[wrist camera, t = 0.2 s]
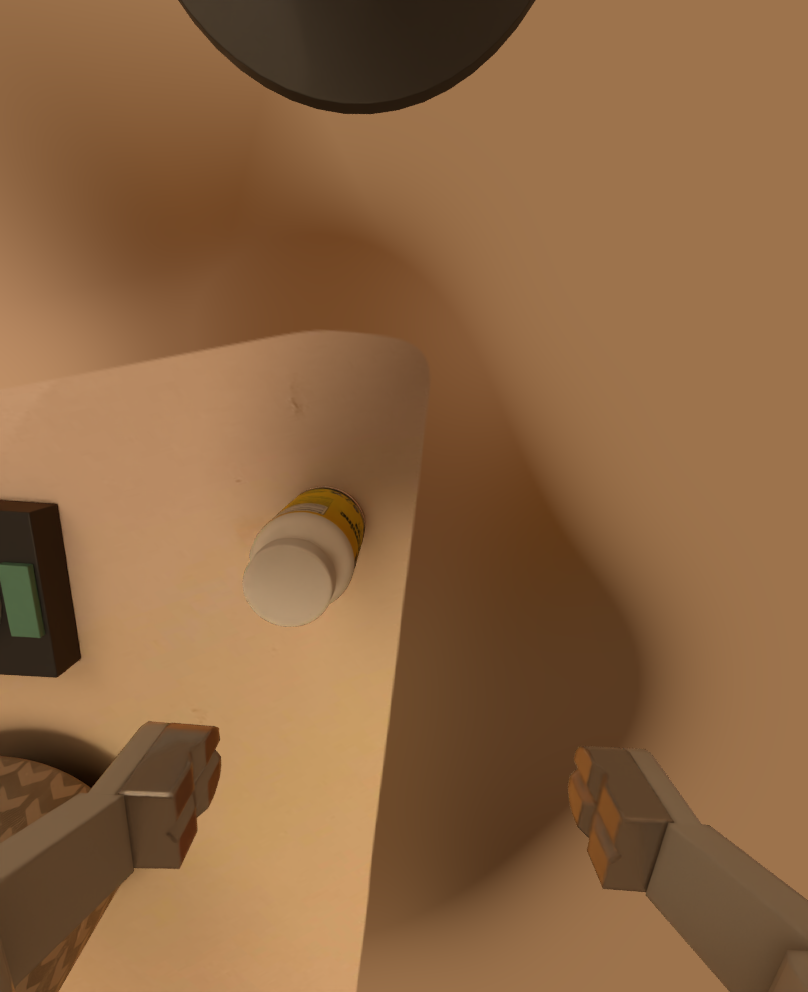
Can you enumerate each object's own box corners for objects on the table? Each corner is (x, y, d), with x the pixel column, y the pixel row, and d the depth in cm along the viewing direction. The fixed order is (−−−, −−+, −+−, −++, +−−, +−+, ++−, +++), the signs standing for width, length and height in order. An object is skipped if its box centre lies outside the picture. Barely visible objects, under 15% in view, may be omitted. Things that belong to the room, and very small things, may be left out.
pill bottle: (368, 557, 31) (350, 640, 21) (291, 559, 31) (234, 643, 21) (364, 482, 30) (343, 530, 19) (284, 485, 30) (218, 533, 19)
